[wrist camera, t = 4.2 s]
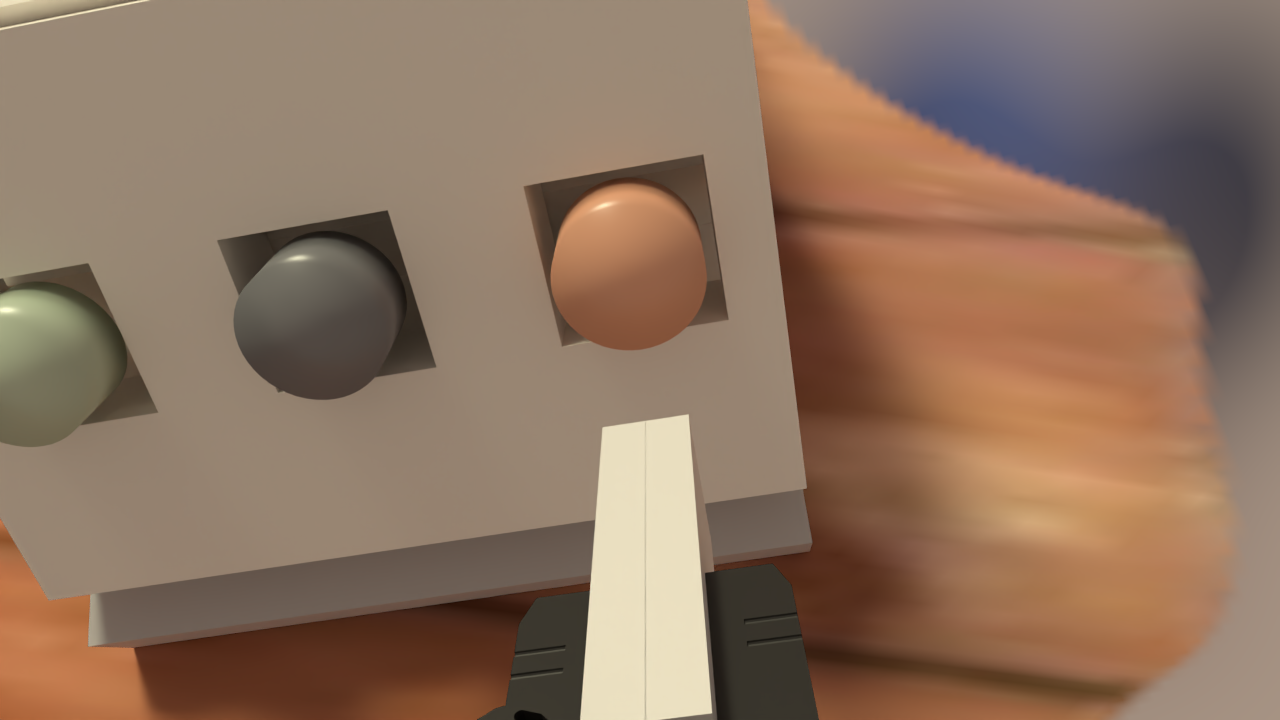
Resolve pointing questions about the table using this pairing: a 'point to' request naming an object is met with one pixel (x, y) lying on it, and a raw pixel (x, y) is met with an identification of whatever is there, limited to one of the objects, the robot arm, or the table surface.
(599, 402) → the button console
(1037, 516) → the table surface
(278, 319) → the charcoal button
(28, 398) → the sage button
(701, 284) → the terracotta button
